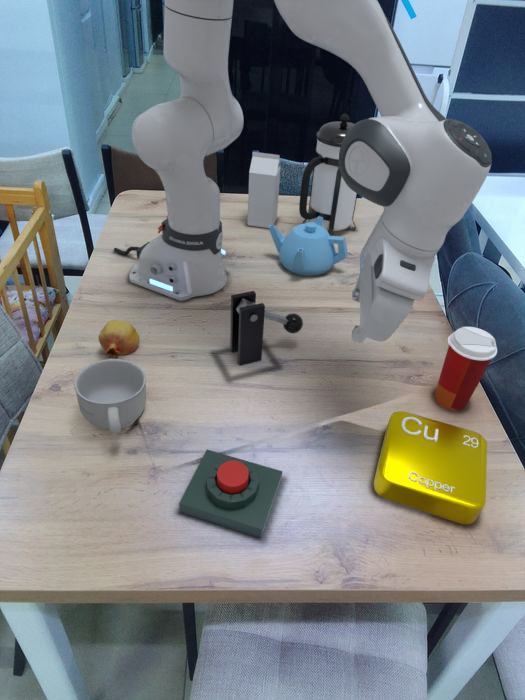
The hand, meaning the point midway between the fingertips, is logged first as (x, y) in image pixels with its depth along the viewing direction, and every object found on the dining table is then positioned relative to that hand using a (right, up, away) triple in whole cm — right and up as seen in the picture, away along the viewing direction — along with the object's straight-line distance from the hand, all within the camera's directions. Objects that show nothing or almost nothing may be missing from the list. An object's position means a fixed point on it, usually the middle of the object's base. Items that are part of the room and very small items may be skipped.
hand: (356, 317), depth 78 cm
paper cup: (+19, -14, +13) cm, 27 cm away
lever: (-14, 0, +15) cm, 20 cm away
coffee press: (+3, +29, +63) cm, 70 cm away
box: (-19, -26, -5) cm, 33 cm away
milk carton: (-15, +31, +65) cm, 73 cm away
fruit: (-41, -5, +19) cm, 46 cm away
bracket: (-18, -7, +18) cm, 26 cm away
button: (-19, -23, -7) cm, 31 cm away
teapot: (-4, +16, +48) cm, 51 cm away
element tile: (+11, -24, 0) cm, 27 cm away
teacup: (-39, -17, +5) cm, 42 cm away
